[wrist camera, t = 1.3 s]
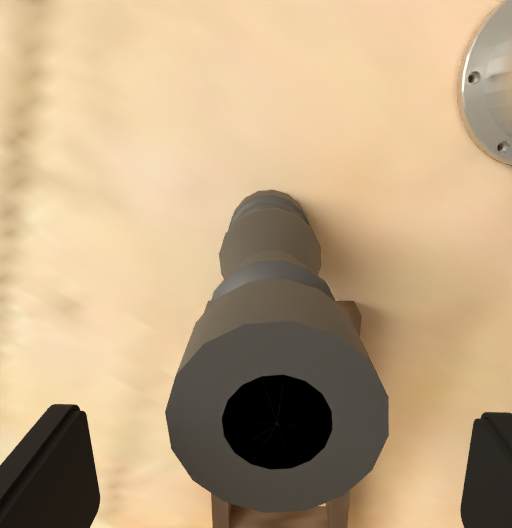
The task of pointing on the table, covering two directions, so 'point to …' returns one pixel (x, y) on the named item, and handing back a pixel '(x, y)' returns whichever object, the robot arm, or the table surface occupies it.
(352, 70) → the table surface
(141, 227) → the table surface
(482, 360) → the table surface
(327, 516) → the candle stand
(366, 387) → the candle holder
